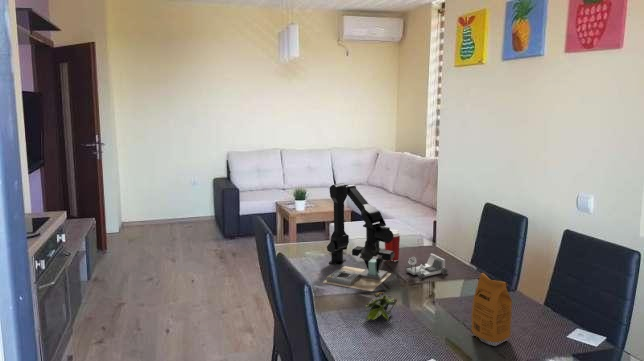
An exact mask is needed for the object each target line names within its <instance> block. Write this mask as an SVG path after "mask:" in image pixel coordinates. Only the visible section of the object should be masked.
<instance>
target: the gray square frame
mask: <svg viewBox="0 0 644 361" xmlns="http://www.w3.org/2000/svg"><path fill="white" fill-rule="evenodd" d="M388 273H389V272H388V270H381V269H379V272H378V274H377V275H376V276H374V275H369V271H368V269H367V268H366V270H365V271H363V272H362V273H361V278H367V279H373V280H379V281H380V280H381V279H382V278H384V277H385V276H386V275H387V274H388Z"/></svg>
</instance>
